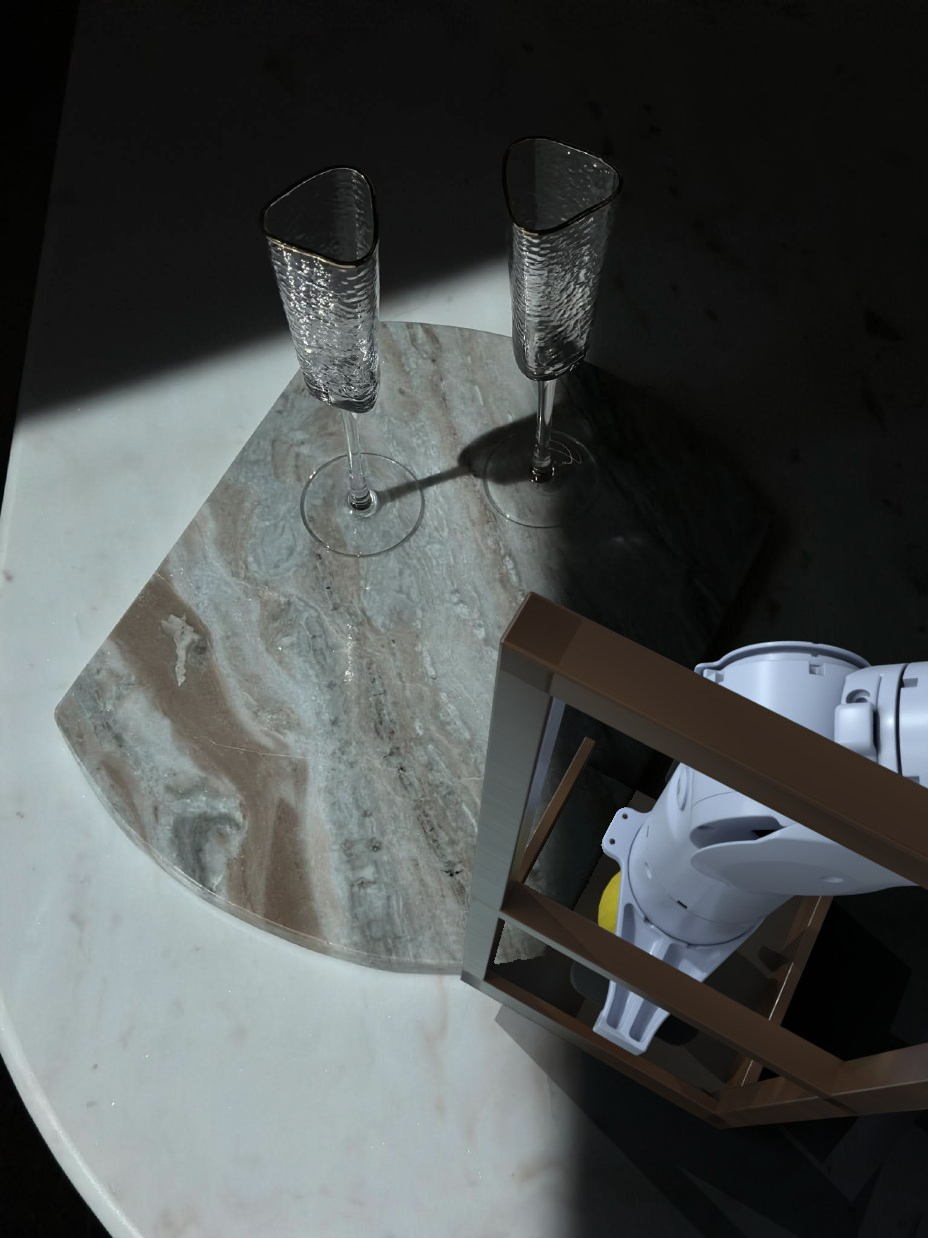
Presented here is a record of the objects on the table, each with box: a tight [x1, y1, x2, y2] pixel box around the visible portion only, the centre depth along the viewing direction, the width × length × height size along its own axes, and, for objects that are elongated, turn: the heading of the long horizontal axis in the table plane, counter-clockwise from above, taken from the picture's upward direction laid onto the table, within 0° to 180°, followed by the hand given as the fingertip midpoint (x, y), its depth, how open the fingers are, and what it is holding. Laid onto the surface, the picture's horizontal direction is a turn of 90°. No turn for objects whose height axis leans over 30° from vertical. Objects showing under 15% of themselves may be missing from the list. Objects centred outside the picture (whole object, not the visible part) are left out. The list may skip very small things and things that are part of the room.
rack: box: [459, 590, 928, 1130], centre depth 40 cm, size 13×14×42 cm
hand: (660, 915), depth 55 cm, fingers open, 7 cm apart
